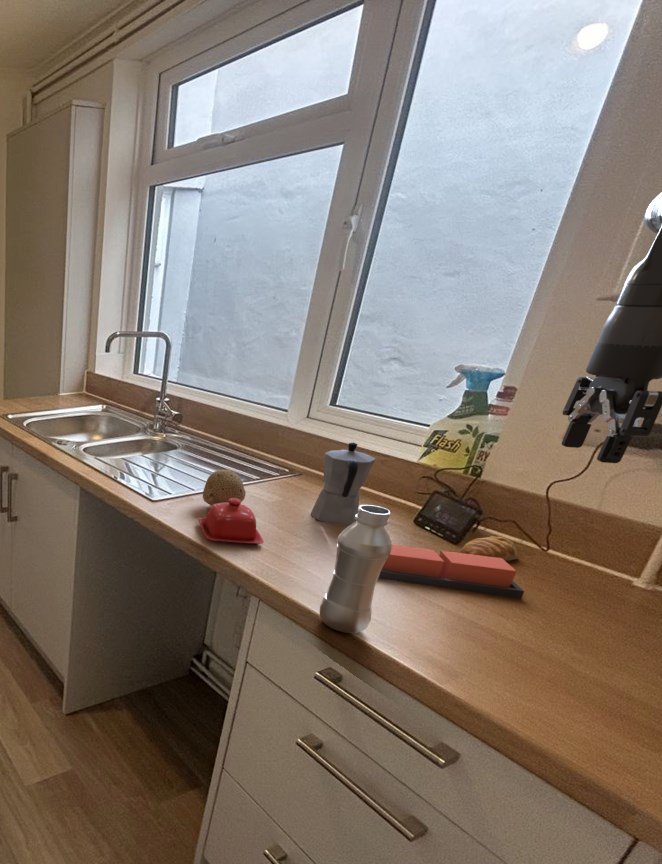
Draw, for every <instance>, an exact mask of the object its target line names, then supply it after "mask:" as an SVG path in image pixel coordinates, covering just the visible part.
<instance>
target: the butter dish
mask: <svg viewBox="0 0 662 864" xmlns="http://www.w3.org/2000/svg"><path fill="white" fill-rule="evenodd" d="M228 502H229V503H217V504H213V505H212V506H211V505H210V507H209V509H208V511H207V513H206V516H205V517H200V518H198V523H199V526H200V527H201V530H202V533H203V534H204V536H205V538H206V539H207V540H209V541H213V542H223V543H237V544H238V543H239V544H255V545H261V544H264V539H263V537H262V535H261V534H260V532H259V531H258V529H257V519H256V516H255V514H254V512H253V510H251V508H250V507H248V506H247V505H245V504H242V502H241V501H240V500H239V499H237V498H230V499H229V500H228Z"/></svg>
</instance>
